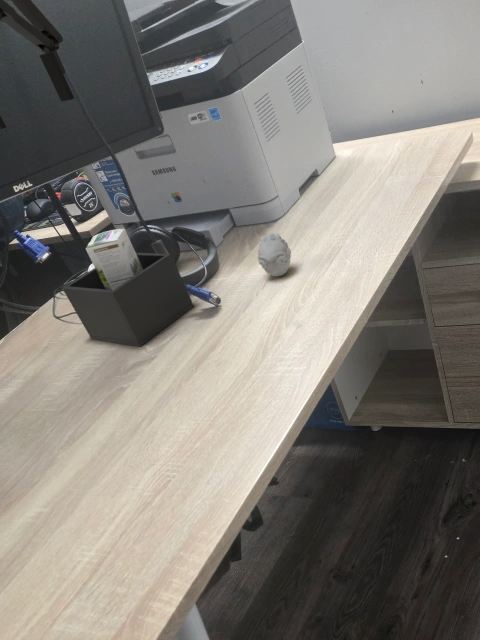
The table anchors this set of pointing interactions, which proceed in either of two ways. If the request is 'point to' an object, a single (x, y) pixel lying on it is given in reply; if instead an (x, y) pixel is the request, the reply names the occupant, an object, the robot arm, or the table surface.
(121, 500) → the table surface
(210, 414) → the table surface
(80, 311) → the open box
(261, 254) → the grey decorated egg
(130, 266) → the syrup box
